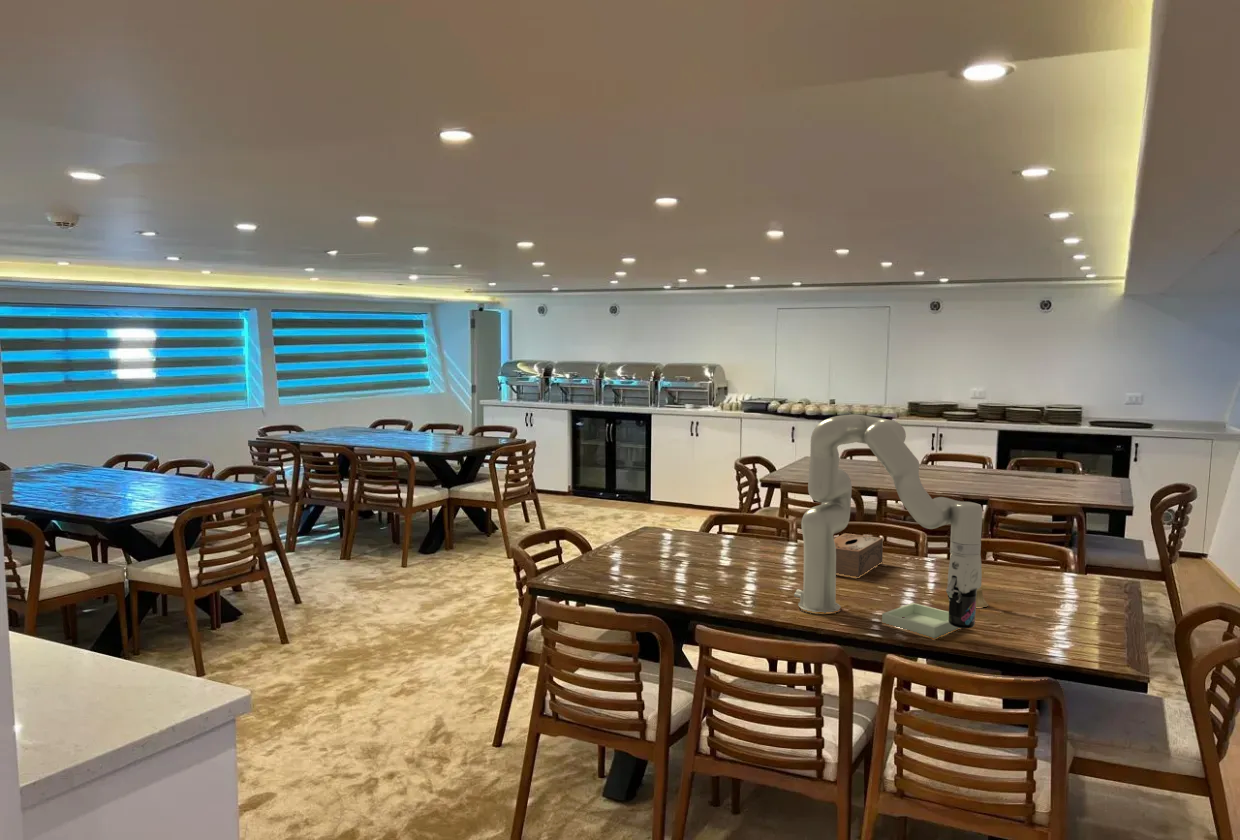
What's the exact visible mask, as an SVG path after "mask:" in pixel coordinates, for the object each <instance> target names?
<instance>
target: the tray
mask: <svg viewBox="0 0 1240 840" xmlns="http://www.w3.org/2000/svg"><path fill="white" fill-rule="evenodd" d="M948 616H949V610H942V609H939V608H935V607H931V606H927V605H924V604H920V603H916V602H911V603H908V604H905V605H903V606H900V607H896V608H894V609H891V610H888V611H886V612H883V613H882V615H881V623H882V622H883V623H886V624H889V625H893V626H896V627H900V628H903V629H907V630H910V631H913V632H917V633H919V634H923V635H926V636H929V637H932V638H934V639H935V638H937V637H939V636H941V635H944V634H946V633H948V632H951V631H953V630H956V629H958V628H959V627H955V626H953V625H951V624H950V623H949V621H948ZM902 617H905V618H902Z"/></svg>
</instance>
